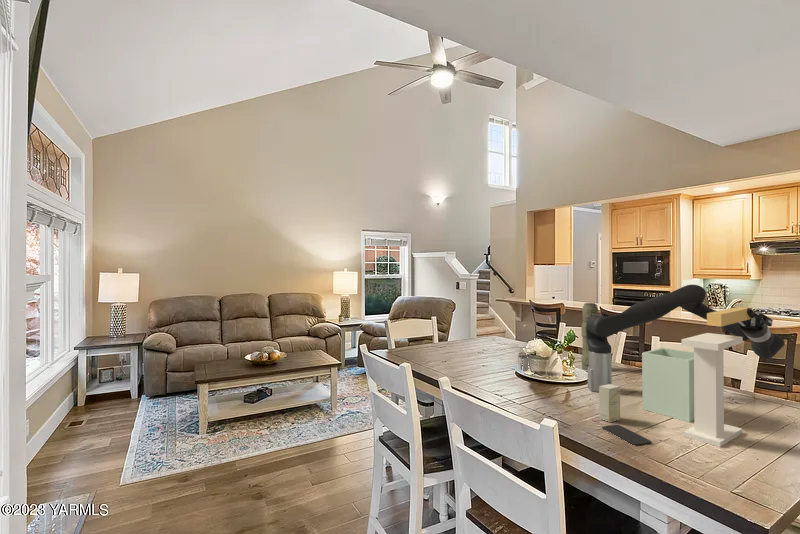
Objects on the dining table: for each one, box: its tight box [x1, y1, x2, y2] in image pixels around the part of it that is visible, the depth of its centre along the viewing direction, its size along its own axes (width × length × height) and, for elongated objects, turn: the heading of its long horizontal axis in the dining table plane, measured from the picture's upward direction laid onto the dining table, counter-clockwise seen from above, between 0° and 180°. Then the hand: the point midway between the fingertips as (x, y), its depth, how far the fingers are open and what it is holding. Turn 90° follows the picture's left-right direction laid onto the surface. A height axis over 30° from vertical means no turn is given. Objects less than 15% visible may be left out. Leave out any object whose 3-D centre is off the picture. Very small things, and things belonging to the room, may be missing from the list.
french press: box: [517, 324, 529, 371], centre depth 215 cm, size 10×12×25 cm
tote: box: [641, 347, 695, 423], centre depth 158 cm, size 16×16×22 cm
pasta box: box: [706, 306, 753, 327], centre depth 144 cm, size 28×4×4 cm, turn 123°
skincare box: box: [598, 384, 621, 423], centre depth 151 cm, size 6×4×12 cm
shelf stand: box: [681, 332, 744, 448], centre depth 136 cm, size 20×10×32 cm, turn 123°
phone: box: [601, 424, 652, 446], centre depth 137 cm, size 7×1×15 cm
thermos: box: [580, 302, 599, 371], centre depth 221 cm, size 9×12×35 cm
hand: (740, 310), depth 149 cm, fingers closed on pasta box, 4 cm apart
